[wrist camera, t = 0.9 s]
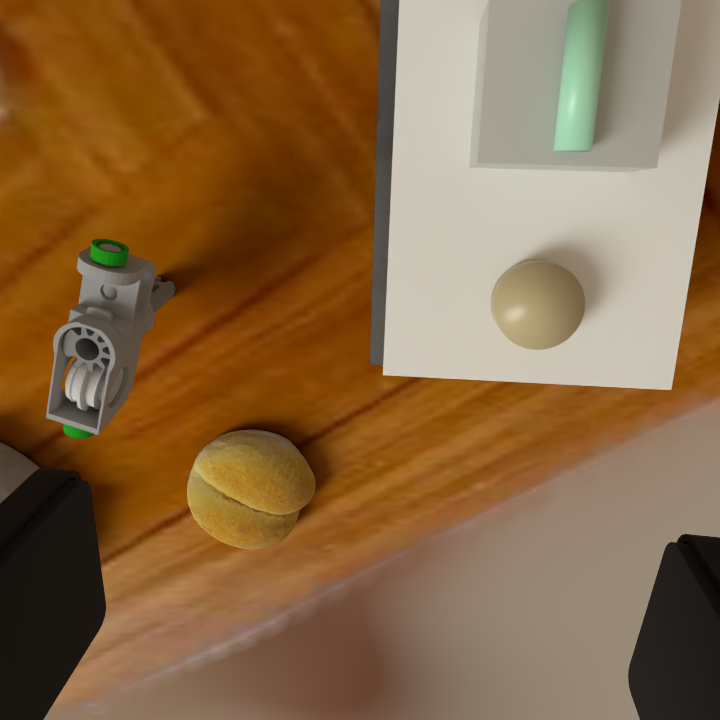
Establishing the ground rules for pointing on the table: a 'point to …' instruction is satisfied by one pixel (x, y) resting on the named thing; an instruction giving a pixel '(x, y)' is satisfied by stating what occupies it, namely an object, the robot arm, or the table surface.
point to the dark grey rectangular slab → (383, 172)
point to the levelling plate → (547, 187)
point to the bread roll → (249, 488)
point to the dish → (13, 470)
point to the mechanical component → (103, 337)
